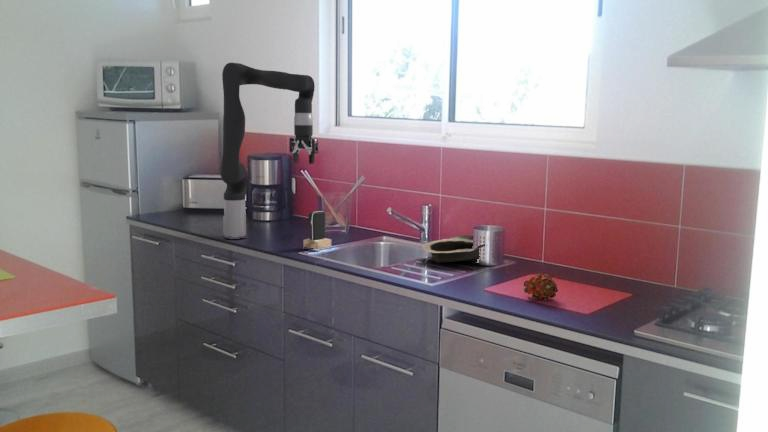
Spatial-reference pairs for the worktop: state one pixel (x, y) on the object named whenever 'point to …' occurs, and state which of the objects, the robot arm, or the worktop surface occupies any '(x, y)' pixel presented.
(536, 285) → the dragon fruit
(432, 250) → the stone bowl
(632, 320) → the worktop surface
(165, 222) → the worktop surface
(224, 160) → the robot arm
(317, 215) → the battery
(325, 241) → the oak slab
